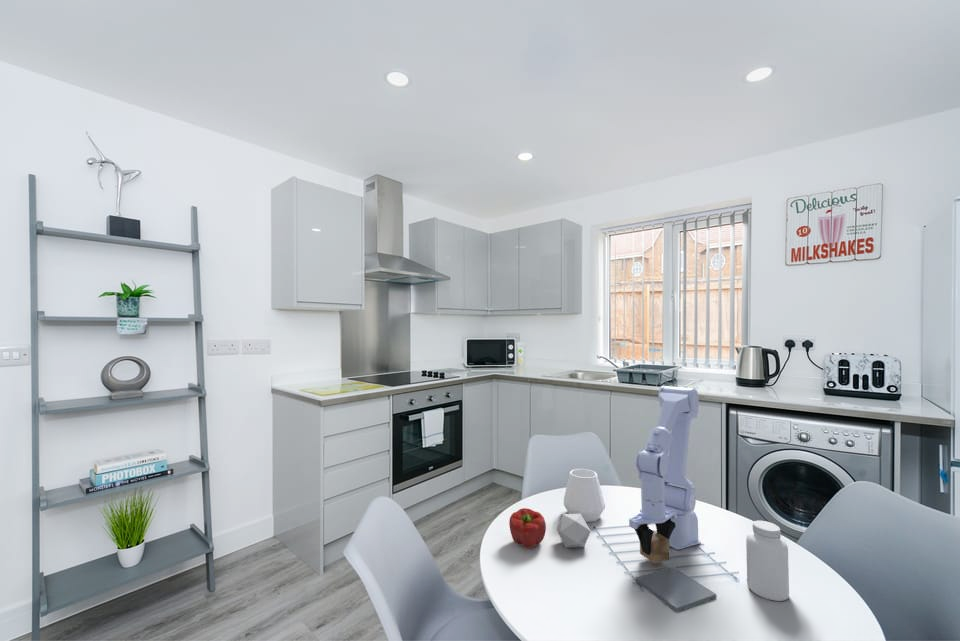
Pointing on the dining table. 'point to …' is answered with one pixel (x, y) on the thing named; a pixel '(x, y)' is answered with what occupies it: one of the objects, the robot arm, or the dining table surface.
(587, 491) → the white vase
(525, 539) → the vegetable
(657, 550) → the tan cube
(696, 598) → the slate coaster
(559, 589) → the dining table surface
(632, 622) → the dining table surface
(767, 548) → the pill bottle
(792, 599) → the dining table surface
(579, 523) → the die
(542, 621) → the dining table surface
